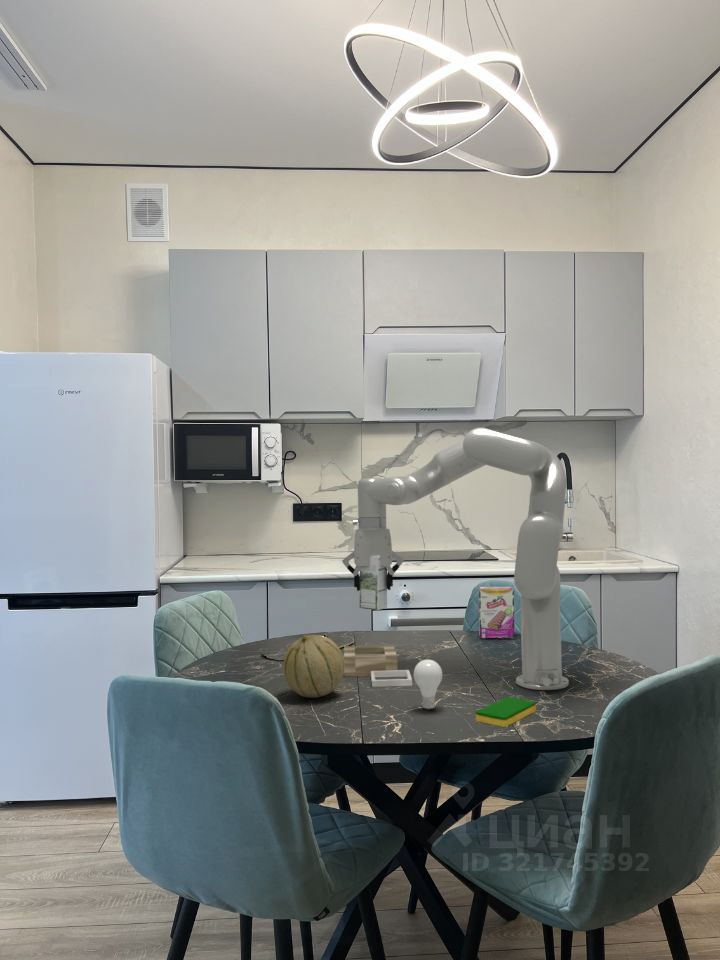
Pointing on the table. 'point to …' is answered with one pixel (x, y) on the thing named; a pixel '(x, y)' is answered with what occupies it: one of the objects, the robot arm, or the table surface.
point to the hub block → (369, 659)
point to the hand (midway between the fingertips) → (373, 589)
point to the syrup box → (373, 585)
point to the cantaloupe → (313, 666)
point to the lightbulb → (428, 681)
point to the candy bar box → (496, 612)
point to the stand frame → (392, 681)
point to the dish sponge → (505, 711)
